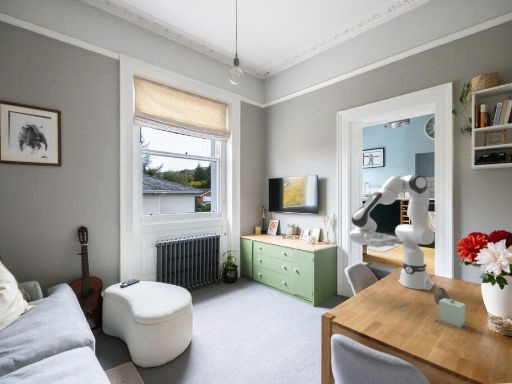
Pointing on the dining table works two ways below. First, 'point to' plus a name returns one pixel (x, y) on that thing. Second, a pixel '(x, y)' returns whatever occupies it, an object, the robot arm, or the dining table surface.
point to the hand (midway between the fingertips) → (398, 243)
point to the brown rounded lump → (440, 295)
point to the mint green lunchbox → (452, 312)
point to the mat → (403, 305)
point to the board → (452, 325)
